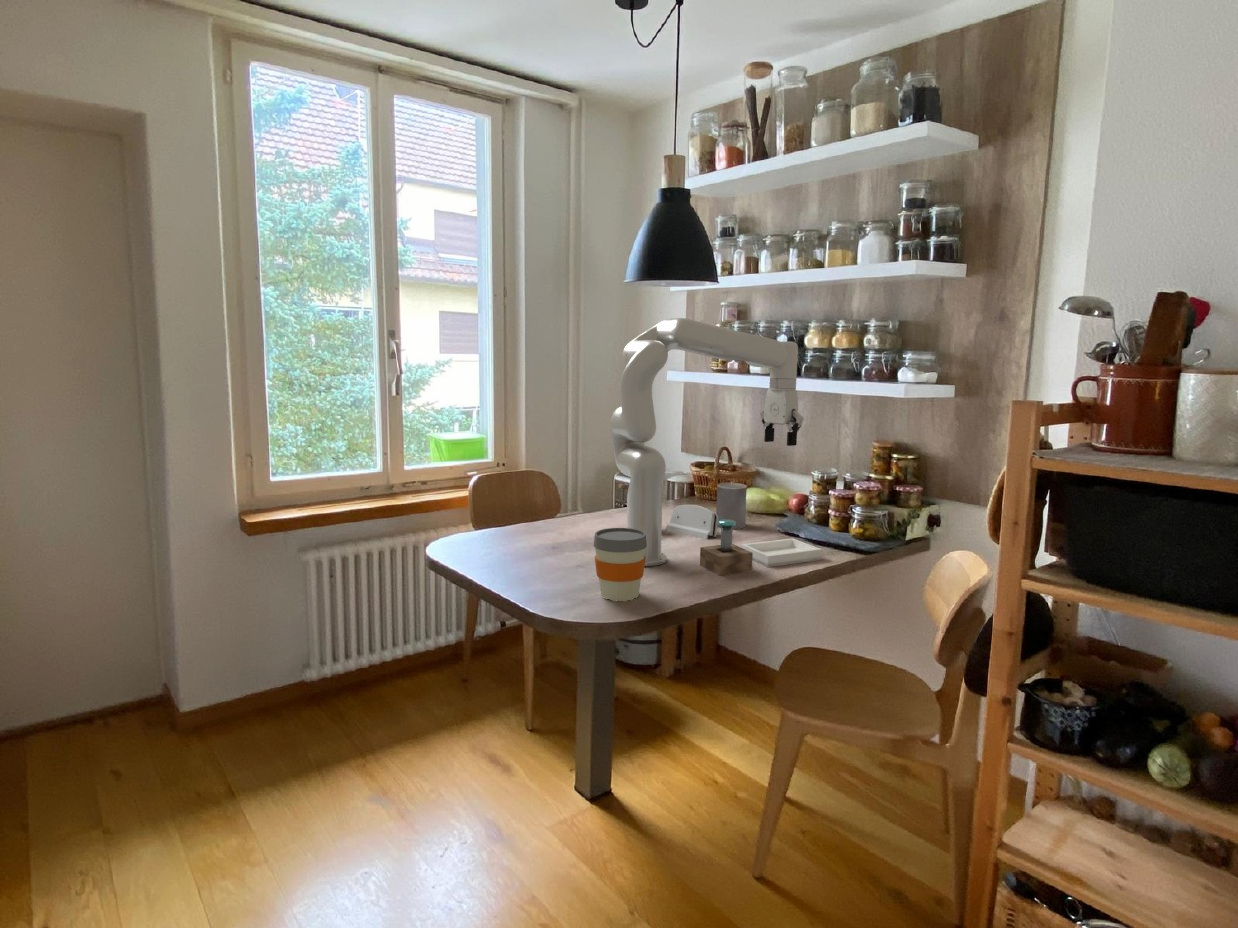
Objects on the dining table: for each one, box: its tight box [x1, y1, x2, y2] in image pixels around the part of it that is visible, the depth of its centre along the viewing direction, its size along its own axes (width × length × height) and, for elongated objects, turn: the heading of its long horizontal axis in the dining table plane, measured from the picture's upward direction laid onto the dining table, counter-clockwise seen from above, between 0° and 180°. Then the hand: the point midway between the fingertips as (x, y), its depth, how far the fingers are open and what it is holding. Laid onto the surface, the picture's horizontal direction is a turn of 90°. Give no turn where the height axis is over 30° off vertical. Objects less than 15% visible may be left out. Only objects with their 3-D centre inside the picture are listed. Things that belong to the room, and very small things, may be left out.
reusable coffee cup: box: [593, 527, 647, 602], centre depth 176 cm, size 13×13×15 cm
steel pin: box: [718, 520, 736, 553], centre depth 199 cm, size 5×5×13 cm
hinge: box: [665, 504, 718, 540], centre depth 237 cm, size 17×5×10 cm, turn 48°
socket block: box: [699, 543, 753, 576], centre depth 199 cm, size 10×10×5 cm
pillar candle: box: [715, 482, 748, 530], centre depth 246 cm, size 10×10×15 cm
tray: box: [740, 538, 823, 568], centre depth 210 cm, size 18×13×3 cm
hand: (780, 443), depth 218 cm, fingers open, 9 cm apart
